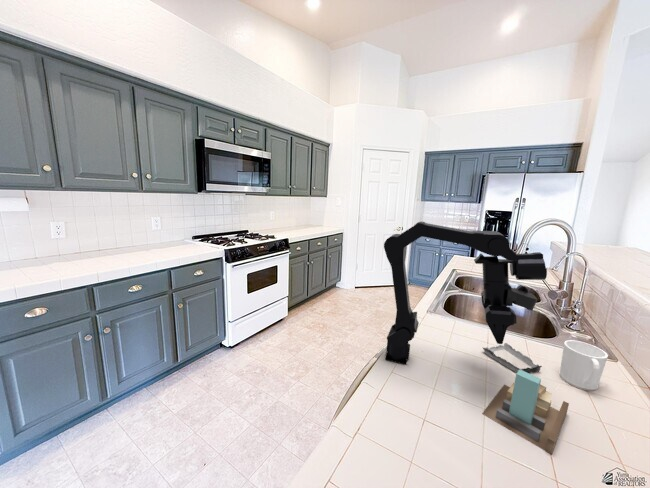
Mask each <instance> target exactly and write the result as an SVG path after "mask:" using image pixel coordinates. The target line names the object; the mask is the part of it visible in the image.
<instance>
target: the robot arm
mask: <svg viewBox="0 0 650 488" xmlns="http://www.w3.org/2000/svg"><path fill="white" fill-rule="evenodd" d="M422 237H424V238H427V239H434V240H438V241H443V242H448V243H453V244H457V245H462V246H467V247H469V248H471V249H474V250H476V251H478V252H481V253H479V255H478V256H477V257H475V258H474V259H473V261H474V263H475V264H477V265H482V278H483V279H482V286H483V291H482V292H481V294H480V299H481V303H482V304H481V305H482V306H483V308H484V319H485V322H486V324H487V326H488V328H489V330H490V332H491V333H492V336H493V338H494V340H495V342H496V344H497V345H504V344H503V343H504V339H505V335H506V334H507V333H506V332H507V329H508V327H510V326H514V325H516V324H518V323H517V314H516V311H514V310H513V309H512V308H511V307H513V304H514V306H515V305H516V306H519V307H521V308H522V307H523V308H525V309H526V310H528V311H533V310H534V308H535V305H536V304H537V302H538V298H537V297H536V295H535V294H533V293H532V292H529V288H528V287H527V286H524V285H518V286H517V287H512V286H511V285H510V282H509V274H510V276H511V277H515V278H516V280H518V281H520V280H521V281H522V280H523V281H524V280H525V281H528V280H529V281H546V279H547V275H548V269H547V267H546V262H545V259H544V254H543V253H541V252H540V251H539V252H529V253H517V252H516V251H515V250H513V249H512V248H510V241H509V240H508V238H507V237H506V236H505V235H504V234H502V233H501V232H499V231H495V230H465V229H460V228H455V227H449V226H444V225H438V224H433V223H428V222H426V221H418V222H416V223H415V224H414V225H413V226H411V227H409V228H408V229H407V230H405V231H403V232H401V233H395V234H392V235H391V236H389V237H388V238H387V239H385V241H384V243H383V249H384V251H385V252H384V253H385V256H386V258H387V260H388V263H389V265H390V268H391V275H392V282H393V283H392V284H393V292H394V299H395V307H396V313H395V321H394V324H392V325H391V328H390V330H389V331H388V334H387V336H386V340H387V343H386V354H385V357H384V359H385V360H386V361H389V362H393V363H396V364H399V365H400V364H401V365H407V363H408V361H409V360H410V349H411V344H410V343H409V342H410V341H412V340H413V339H414V337H415V334H416V333H417V331H418V327H419V321H418V311H413V310H412V308H411V303H410V296H409V295H410V293H409V287H408V286H409V285H408V278H407V269H406V261H407V260H406V258H407V252H408V251H407V248H408V246H409V245H411V244H412V243H413V242H416V241H417V240H419V239H420V238H422ZM483 254H486V256H485V255H483ZM487 255H488V256H487ZM498 257H502V258H498ZM509 270H510V271H509Z"/></svg>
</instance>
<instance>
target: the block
mask: <svg viewBox="0 0 650 488" xmlns="http://www.w3.org/2000/svg"><path fill="white" fill-rule="evenodd" d="M520 369H521V368H519V371H518V372H517V373H516V372H515V374H516V375H515V379H514V382H513V383H514V388H513V394H512V399H511V404H510V410H509V414H511V415H513V416H515V417H516V418H518V419H520V420H522V421H524V422H526V423H527V424H529V425H531V426H532V421H533V416H534V411H535V407H536V402H537V397H538V392H539V387H540V384H541V382H542V378H540V377H538V376H536V375H534V374H532V373H527V372H524V371H522V370H520Z"/></svg>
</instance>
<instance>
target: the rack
mask: <svg viewBox="0 0 650 488" xmlns="http://www.w3.org/2000/svg"><path fill="white" fill-rule="evenodd" d="M514 383H515V382H512V384H511V385H510V386H509V385H506V384H505V383H504V384H503V386H501V388H500V389H499V391H498V392H497V393H496V395H494V397H493V399H492V400H491V401H490V402H489V403H488V405H487V406H486V408H485V409H484V410H483V412H482V413H481V415H483V416H485V417H487V418H488V419H490V420H492V421H493V422H495V423H497V424H499V425H500V426H502V427H503V428H505V429H507V430H509V431H511V432H512V433H514V434H516V435H517V436H519V437H521V438H522V439H524V440H526V441H527V442H530V443H531V444H533V445H534V446H536V447H537V448H539V449H541V450H543V451H545V452H547V453H548V454H550V455H552V454H553V452H554V449H555V447H556V444H557V441H558V438H559V436H560V433H561V430H562V427H563V424H564V421H565V419H566V417H567V414H568V409H569V404H570V402H566V401H564V400H563V401H562V404H561V406H560V409H556V408H554V407H552V406H551V405H552V392H550V391H547V386H544V384H543V385H542V384H541V383H540V387H539V392H538V397H537V402H536V407H535V411H534V416H533V421H532V426H531V425H529V424H527V423H526V422H524V421H522V420H520V419H518V418H516V417H515V416H513V415H511V414H509V410H510V404H511V399H512V394H513V388H514Z"/></svg>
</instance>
